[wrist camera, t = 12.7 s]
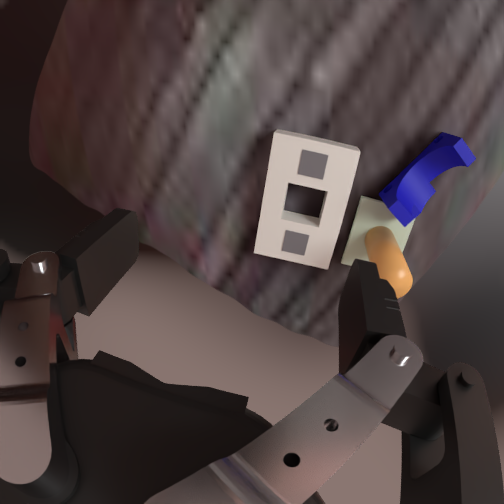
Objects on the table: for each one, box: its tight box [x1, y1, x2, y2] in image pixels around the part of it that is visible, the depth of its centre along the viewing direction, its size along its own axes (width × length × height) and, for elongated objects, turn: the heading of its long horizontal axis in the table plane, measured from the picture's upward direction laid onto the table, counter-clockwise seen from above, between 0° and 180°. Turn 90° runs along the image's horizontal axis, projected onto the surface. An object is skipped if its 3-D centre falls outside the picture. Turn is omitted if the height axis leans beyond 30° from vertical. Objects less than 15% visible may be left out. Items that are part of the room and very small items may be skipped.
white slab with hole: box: [254, 129, 360, 269], centre depth 39 cm, size 16×10×3 cm, turn 171°
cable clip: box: [379, 132, 476, 227], centre depth 33 cm, size 12×4×6 cm, turn 140°
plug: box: [364, 226, 413, 298], centre depth 36 cm, size 4×4×10 cm
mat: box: [341, 196, 415, 266], centre depth 41 cm, size 10×8×1 cm
